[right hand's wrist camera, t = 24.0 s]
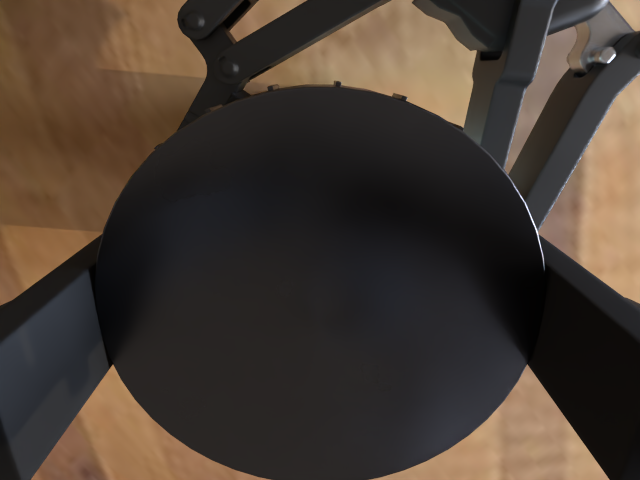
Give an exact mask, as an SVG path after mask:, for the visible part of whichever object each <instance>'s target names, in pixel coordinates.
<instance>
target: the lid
mask: <svg viewBox="0 0 640 480" xmlns="http://www.w3.org/2000/svg"><path fill="white" fill-rule="evenodd" d="M406 100H407V97H406V96H403V95H399V94H395V93H393V95H392V97H391V96H388V95H385V94H381V93H378V92H374V91H371V90H367V89H362V88H355V87H348V86H341V82H339V81H334V85H299V86H292V87H285V88H279V87H278V85H273V86H269V87H268V91H266V92H263V93H259V94H256V95H252V96H248V97H245V98H242V99H239V100H236V101H234V102H231V103H229V104H227V105H225V106H222V104H220V105H217V106H214V107H211V108H208V109H206V110H205V112H206V114H204V115H202V116H201V117H199V118H198V119H196V120H195V121H193V122H191V123H190V124H188V125H187V126H185V127H183V128H182V129H180V130H179V131H177V132H176V133H174V134H173V135H172V136H171V137H170V138H168V139H167V140H166V141H165V142H164V143H161V144H159V145H157V146H156V147H155V148H154V149H155V150H154V151H153V152H152V153H151V154H150V155H149V156H148V158H147V159H146V160H145V161H144V162H143V163H142V165H141V166H140V167H139V168H138V169H137V170H136V172H135V173H134V174H133V175H132V176H131V178H130V179H129V181H128V182H127V184H126V186H125V187H124V189H123V190H122V192H121V194H120V195H119V197H118V198H117V200H116V202H115V204H114V206H113V209H112V211H111V213H110V215H109V218H108V220H107V222H106V225H105V227H104V230H103V234H102V238H101V242H100V246H99V250H98V254H97V263H96V273H95V299H96V311H97V315H98V320H99V325H100V330H101V334H102V337H103V340H104V343H105V346H106V348H107V351H108V354H109V357H110V359H111V361H112V363H113V365H114V367H115V369H116V370H117V372H118V374H119V376H120V378H121V380H122V381H123V383H124V384H125V386H126V387H127V389H128V390H129V391H130V393H131V394H132V396H133V397H134V399H135V400H136V401H137V402H138V403H139V404H140V406H141V407H142V408H143V409H144V410H145V411H146V412H147V413H148V414H149V416H150V417H151V418H152V419H153V420H155V421H156V422H157V423H158V424H159V425H160V426H161V427H163V428H164V429H165V430H166V431H167V432H168V433H169V434H170V435H172V436H173V437H175V438H176V439H178V440H179V441H181V442H182V443H183V444H185V445H186V446H188V447H189V448H191V449H192V450H194V451H196V452H198V453H200V454H202V455H203V456H205V457H207V458H209V459H211V460H213V461H215V462H217V463H220V464H222V465H225V466H227V467H229V468H232V469H234V470H237V471H240V472H244V473H247V474H250V475H254V476H257V477H261V478H266V479H271V480H369V479H374V478H379V477H383V476H386V475H390V474H393V473H396V472H400V471H403V470H406V469H408V468H411V467H413V466H416V465H418V464H420V463H423V462H425V461H427V460H429V459H431V458H433V457H435V456H437V455H439V454H440V453H442V452H444V451H446V450H448V449H449V448H451V447H452V446H454V445H455V444H457V443H458V442H460V441H461V440H463V439H464V438H465V437H467V436H468V435H470V434H471V433H472V432H473V431H474V430H475V429H477V428H478V427H479V426H480V425H481V424H482V423H483V422H485V421H486V420H487V419H488V418H489V417H490V416H491V415H492V413H493V412H494V411H495V410H496V409H497V408H498V407H499V406H500V405H501V404H502V403H503V401H504V400H505V399H506V397H507V396H508V395H509V393H510V392H511V390H512V389H513V387H514V386H515V385H516V383H517V382H518V380H519V378H520V377H521V375H522V373H523V371H524V369H525V367H526V365H527V363H528V361H529V360H530V357H531V355H532V352H533V349H534V346H535V344H536V341H537V338H538V335H539V331H540V326H541V321H542V316H543V312H544V303H545V288H546V281H545V269H544V258H543V253H542V249H541V245H540V241H539V237H538V232H537V229H536V226H535V224H534V222H533V219H532V217H531V214H530V212H529V210H528V207H527V205H526V203H525V201H524V199H523V198H522V196H521V195H520V193H519V191H518V190H517V188H516V186H515V185H514V183H513V182H512V180H511V178H510V177H509V176H508V175H507V173H506V171H505V170H504V169H502V168H501V166H500V165H499V164H498V163H497V162H496V160H495V159H494V158H493V157H492V156H491V155H490V154H489V153H488V152H487V151H486V150H485V149H484V148H482V147H481V146H480V145H479V144H478V143H477V142H476V141H474V140H473V139H472V138H471V137H470V136H469V135H468V134H466V133H465V132H463V130H464V128H462V127H461V126H459V125H456V124H453V123H451V122H448V121H446V120H445V119H443V118H441V117H440V116H438V115H436V114H434V113H432V112H429V111H427V110H425V109H423V108H421V107H418V106H416V105H414V104H412V103H410V102H407V101H406Z"/></svg>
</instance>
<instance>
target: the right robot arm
mask: <svg viewBox="0 0 640 480" xmlns="http://www.w3.org/2000/svg"><path fill="white" fill-rule="evenodd" d="M538 237H539V241H540V245H541V249H542V253H543V258H544V269H545V281H546V288H545V303H544V312H543V316H542V321H541V326H540V331H539V335H538V338H537V341H536V344H535V346H534V349H533V352H532V355H531V357H530V360H529V361H528V363H527V364H528V366H529V367H530V368H531V370H532V371H533V373H534V374H535V375H536V377H537V378H538V380H539V381H540V382H541V384H542V385H543V387H544V388H545V389H546V391H547V392H548V394H549V395H550V396H551V398H552V399H553V401H554V402H555V403H556V405H557V406H558V408H559V409H560V411H561V412H562V413H563V415H564V416H565V418H566V419H567V420H568V422H569V423H570V425H571V426H572V427H573V429H574V430H575V432H576V433H577V434H578V436H579V437H580V439H581V440H582V441H583V443H584V444H585V446H586V447H587V448H588V450H589V451H590V453H591V454H592V455H593V457H594V458H595V460H596V461H597V462H598V464H599V465H600V467H601V468H602V469H603V471H604V472H605V474H606V475H607V476H608V478H609V479H610V480H640V304H639V303H637V302H635V301H632V300H630V299H628V298H624V297H623V296H621V295H620V294H619V293H617V292H616V291H615V290H613V289H612V288H611V287H609V286H608V285H606V284H605V283H604V282H602V281H601V280H600V279H598V278H597V277H596V276H594V275H593V274H592V273H590V272H589V271H587V270H586V269H585V268H583V267H582V266H581V265H579V264H578V263H577V262H575V261H574V260H573V259H571V258H570V257H569V256H567V255H566V254H564V253H563V252H562V251H560V250H559V249H558V248H556V247H555V246H554V245H552V244H551V243H550V242H548V241H547V240H545V239H544V238H543V237H541V236H540V235H539V234H538ZM101 238H102V235H100V236H99V237H98V238H96V239H95V240H93V241H92V242H91V243H89V244H88V245H87V246H85V247H84V248H83V249H81V250H80V251H79V252H77V253H76V254H74V255H73V256H72V257H70V258H69V259H68V260H66V261H65V262H64V263H62V264H61V265H60V266H58V267H57V268H56V269H54V270H53V271H51V272H50V273H49V274H47V275H46V276H45V277H43V278H42V279H41V280H39V281H38V282H37V283H35V284H34V285H32V286H31V287H30V288H28V289H27V290H26V291H24V292H23V293H22V294H20V295H19V296H18V297H16V298H15V299H14V300H12V301H10V302H7V303H5V304H3V305H1V306H0V480H31V478H32V477H33V475H34V474H35V473H36V471H37V470H38V468H39V467H40V466H41V464H42V463H43V461H44V460H45V459H46V457H47V456H48V454H49V453H50V452H51V450H52V449H53V447H54V446H55V445H56V443H57V442H58V440H59V439H60V438H61V436H62V435H63V433H64V432H65V431H66V429H67V428H68V426H69V425H70V424H71V422H72V421H73V419H74V418H75V417H76V415H77V414H78V412H79V411H80V410H81V408H82V407H83V405H84V404H85V402H86V401H87V400H88V398H89V397H90V395H91V394H92V393H93V391H94V390H95V388H96V387H97V386H98V384H99V383H100V381H101V380H102V379H103V377H104V376H105V374H106V373H107V372H108V370H109V369H110V367H111V366H112V365H113V363H112V361H111V359H110V357H109V354H108V351H107V348H106V346H105V343H104V340H103V337H102V334H101V330H100V325H99V320H98V315H97V311H96V299H95V273H96V263H97V254H98V250H99V246H100V242H101Z"/></svg>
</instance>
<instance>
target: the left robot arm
mask: <svg viewBox="0 0 640 480" xmlns="http://www.w3.org/2000/svg"><path fill="white" fill-rule="evenodd" d="M258 1H259V0H188V1H187V2H186V3H185V4H184V5H183V6H182V7H181V9H180V11H179V12H178V19H177V20H178V25H179V28H180V29H181V31H182V33H183V34H184V35H186V36H187V37H188V38H190V39H191V41H192V42H193V43H194V45H195V46H196V47H197V49H198V50H199V51H200V53H201V54H202V56H203V57H204V59H205V61H206V64H207V77H206V79H205V81H204V83H203V85H202V87H201V89H200V90H199V92H198V94H197V96H196V98H195V99H194V101H193V103H192V105H191V107H190V108H189V111H188V112H187V114H186V116H185V117H184V120H183V121H182V123H181V125H180V126H179V128H178V130H177V131H179V130H180V129H182V128H183V127H185V126H187V125H188V124H190V123H191V122H193V121H195V120H196V119H198V118H199V117H201V116H202V115H204V114H206V112H205V110H206V109H208V108H211V107H214V106H217V105H220V104H222V106H225V105H227V104H229V103H231V102H234V101H236V100H239V99H242V98H245V97H248V96H251V95H250V94H248V93H247V92H245V91H244V90H243V88H244V87H245V85H246V83H247V82H250V80H252V79H253V78H255V77H257V76H259V75H260V74H262V73H264V72H266V71H267V70H269V69H271V68H272V67H274V66H276V65H278V64H279V63H281V62H283V61H285V60H286V59H288V58H290V57H292V56H293V55H295V54H297V53H299V52H300V51H302V50H304V49H306V48H307V47H309V46H311V45H313V44H314V43H316V42H318V41H320V40H321V39H323V38H325V37H327V36H328V35H330V34H332V33H334V32H335V31H337V30H339V29H341V28H342V27H344V26H346V25H347V24H349V23H351V22H353V21H354V20H356V19H358V18H360V17H361V16H363V15H365V14H367V13H368V12H370V11H372V10H374V9H375V8H377V7H379V6H381V5H384V4H385V3H387V2H389V1H391V0H307V1H306V2H304V3H302V4H300V5H299V6H297V7H295V8H294V9H292V10H290V11H289V12H287V13H285V14H284V15H282V16H280V17H279V18H277V19H275V20H274V21H272V22H270V23H268V24H267V25H265V26H263V27H262V28H260V29H258V30H257V31H255V32H253V33H252V34H250V35H248V36H247V37H245V38H243V39H242V40H240V41H238V42H236V40H235V39H234V37H233V36H232V35H231V33H230V32H229V31H230V30H231V29H232V28H233V26H234V25H235V24H236V23H237V22H238V21H239V20H240V19H241V18H242V17H243V16H244V15H245V14H246V13H247V12H248V11H249V10H250V9H251V8H252V7H253V6H254V5H255V4H256V3H257V2H258ZM412 3H413V4H414V5H415V6H416V7H417V8H419V9H420V10H421V11H422V12H424V13H425V14H426V15H428V16H430V17H433V18H435V19H438V20H440V21H443V22H445V23H446V25H447V26H448V28H449V29H450V30H451V32H452V33H453V35H454V36H455V38H456V39H457V40H458V41H459V42H460V43H462V44H463V45H464V46H465V47H466V48H468V49H469V50H470V51H472V50H477V53H476V58H475V63H474V67H473V73H472V77H473V89H472V93H471V98H470V102H469V107H468V111H467V116H466V120H465V124H464V130H463V132H465V133H466V134H468V135H469V136H470V137H471V138H472V139H473V140H474V141H476V142H477V143H478V144H479V145H480V146H481V147H482V148H484V149H485V150H486V151H487V152H488V153H489V154H490V155H491V156H492V157H493V158H494V159H495V160H496V162H497V163H498V164H499V165H500V166H501V168H502V169H504V170H505V166H506V162H507V158H508V154H509V151H510V147H511V143H512V139H513V136H514V132H515V128H516V124H517V121H518V117H519V113H520V109H521V106H522V102H523V98H524V94H525V91H526V89H527V87H528V86H529V84H530V83H531V82H532V81H533V79H534V78H535V75H536V72H537V69H538V65H539V62H540V58H541V54H542V50H543V47H544V43H545V39H546V36H548V35H551V34H553V33H556V32H559V31H562V30H564V29H567V28H570V27H572V26H574V27H575V28H576V31H577V40H576V43H575V45H574V47H573V48H572V50H571V52H570V53H569V54H568V56H567V62H568V64H569V66H570V68H569V69H568V71H567V72H566V73H565V74H564V75H563V77H562V78H561V79H560V81H559V82H558V83H557V85H556V87H555V88H554V90H553V92H552V94H551V95H550V97H549V99H548V101H547V103H546V105H545V107H544V109H543V110H542V112H541V114H540V116H539V118H538V120H537V122H536V124H535V126H534V127H533V129H532V131H531V133H530V135H529V137H528V139H527V141H526V143H525V144H524V146H523V148H522V150H521V152H520V154H519V156H518V158H517V160H516V162H515V163H514V165H513V167H512V169H511V171H510V173H509V175H508V176H509V177H510V178H511V180H512V182H513V183H514V185H515V186H516V188H517V190H518V191H519V193H520V195H521V196H522V198H523V199H524V201H525V203H526V205H527V207H528V210H529V212H530V214H531V217H532V219H533V222H534V224H535V226H536V229H537V232H538V231H539V229H540V228H541V226H542V224H543V222H544V221H545V219H546V217H547V215H548V214H549V212H550V210H551V209H552V207H553V205H554V203H555V202H556V200H557V198H558V196H559V195H560V193H561V191H562V190H563V188H564V186H565V184H566V183H567V181H568V179H569V178H570V176H571V174H572V172H573V171H574V169H575V167H576V165H577V164H578V162H579V160H580V159H581V157H582V155H583V153H584V152H585V150H586V148H587V147H588V145H589V143H590V141H591V140H592V138H593V136H594V134H595V133H596V131H597V129H598V128H599V126H600V124H601V122H602V121H603V119H604V117H605V115H606V114H607V112H608V110H609V109H610V107H611V105H612V103H613V102H614V100H615V98H616V97H617V95H618V94H619V93H620V92H621V91H622V90H624V89H625V88H626V87H627V86H628V85H629V84H630V83H631V82H632V81H633V80H634V79H635V78H636V77H637V76H638V75H639V74H640V31H634V30H633V29H632V28H631V27H630V25H629V24H628V23H627V22H626V21H625V19H624V18H623V17H622V16H621V15H620V14H619V12H618V11H617V10H616V9H615V8H614V6H613V5H612V4H611V3H610V2H609V0H413V2H412Z"/></svg>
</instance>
